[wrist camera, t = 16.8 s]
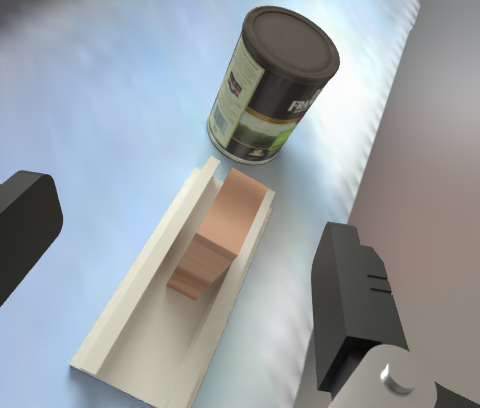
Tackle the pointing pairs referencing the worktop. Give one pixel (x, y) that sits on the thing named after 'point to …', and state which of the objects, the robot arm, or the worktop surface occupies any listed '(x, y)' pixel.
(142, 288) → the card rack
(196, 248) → the wooden card
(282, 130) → the coffee can
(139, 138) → the worktop surface
